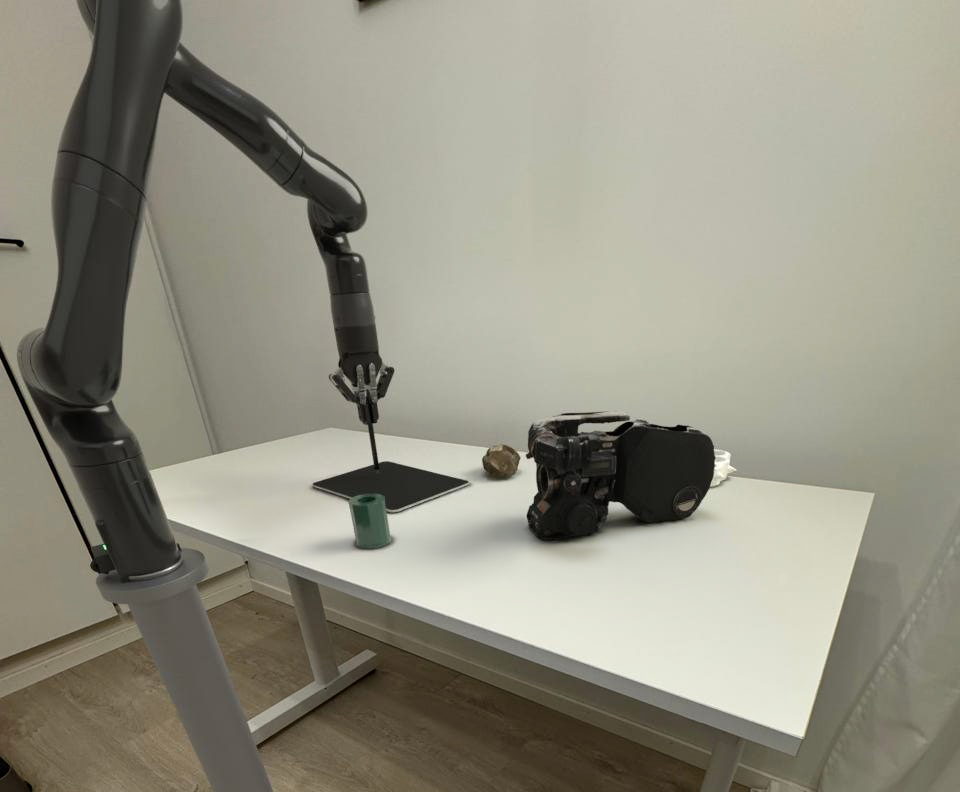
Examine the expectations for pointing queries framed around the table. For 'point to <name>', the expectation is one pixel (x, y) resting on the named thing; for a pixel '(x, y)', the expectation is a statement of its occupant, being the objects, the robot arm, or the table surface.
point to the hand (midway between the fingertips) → (369, 423)
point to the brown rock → (501, 461)
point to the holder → (370, 520)
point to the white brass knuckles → (721, 467)
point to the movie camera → (614, 472)
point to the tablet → (392, 484)
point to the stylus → (372, 439)
